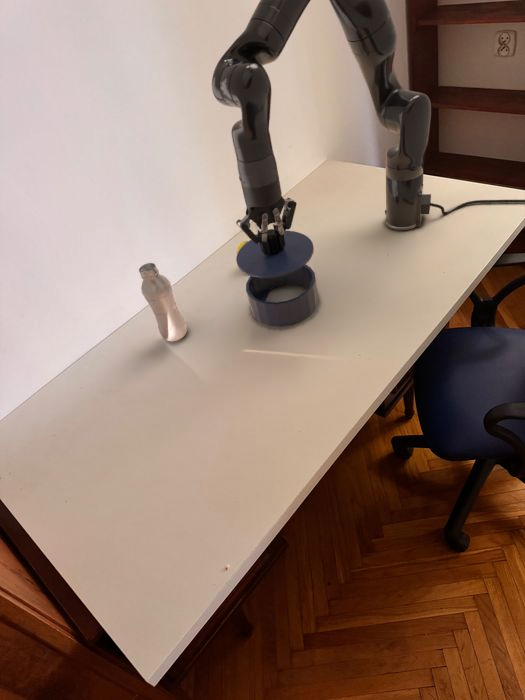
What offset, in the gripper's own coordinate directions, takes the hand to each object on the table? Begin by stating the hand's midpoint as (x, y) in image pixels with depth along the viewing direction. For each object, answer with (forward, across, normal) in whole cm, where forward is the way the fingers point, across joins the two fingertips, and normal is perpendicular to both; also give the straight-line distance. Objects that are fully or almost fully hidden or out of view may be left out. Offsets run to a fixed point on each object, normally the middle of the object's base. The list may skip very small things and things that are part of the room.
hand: (274, 251), depth 104 cm
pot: (+16, 0, 0) cm, 16 cm away
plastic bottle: (+16, -26, +8) cm, 32 cm away
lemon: (+16, +1, +20) cm, 26 cm away
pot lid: (+1, 0, 0) cm, 1 cm away
